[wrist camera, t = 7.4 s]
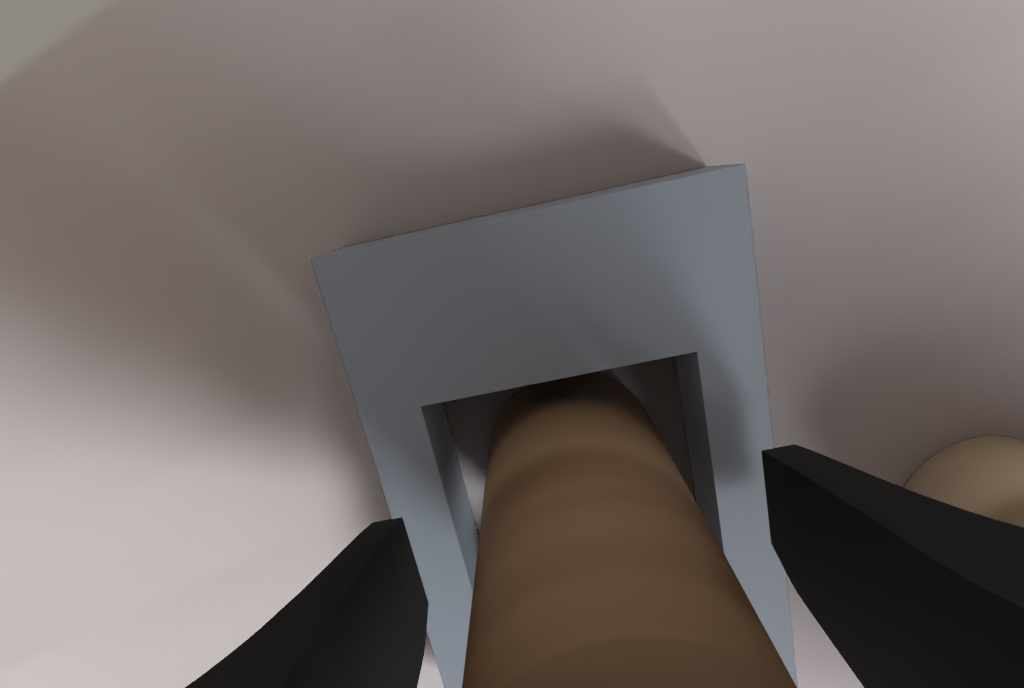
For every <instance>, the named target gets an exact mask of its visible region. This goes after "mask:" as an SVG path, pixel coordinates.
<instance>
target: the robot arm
mask: <svg viewBox="0 0 1024 688" xmlns="http://www.w3.org/2000/svg"><path fill="white" fill-rule="evenodd" d="M761 452H762V462H763V471H764V481H765V490H766V499H767V509H768V518H769V528H770V537H771V544H772V546H773V548H774V550H775V552H776V554H777V556H778V558H779V560H780V562H781V564H782V565H783V567H784V569H785V571H786V573H787V575H788V577H789V578H790V580H791V582H792V584H793V586H794V588H795V589H796V591H797V593H798V594H799V596H800V597H801V599H802V600H803V601H804V603H805V604H806V606H807V607H808V609H809V610H810V612H811V613H812V614H813V616H814V617H815V619H816V620H817V622H818V623H819V624H820V626H821V627H822V629H823V630H824V631H825V633H826V634H827V636H828V637H829V639H830V640H831V641H832V643H833V644H834V646H835V647H836V648H837V650H838V651H839V653H840V654H841V655H842V657H843V658H844V660H845V661H846V662H847V664H848V665H849V667H850V668H851V669H852V671H853V672H854V674H855V675H856V676H857V678H858V679H859V681H860V682H861V683H862V685H863V686H864V688H1024V528H1023V527H1020V526H1016V525H1013V524H1009V523H1006V522H1002V521H999V520H995V519H992V518H989V517H985V516H982V515H979V514H976V513H973V512H970V511H967V510H964V509H961V508H958V507H955V506H952V505H949V504H947V503H944V502H941V501H938V500H935V499H932V498H929V497H927V496H924V495H921V494H919V493H916V492H913V491H911V490H908V489H905V488H903V487H900V486H898V485H895V484H892V483H890V482H887V481H885V480H882V479H880V478H877V477H875V476H872V475H870V474H868V473H865V472H863V471H860V470H858V469H855V468H853V467H851V466H848V465H846V464H843V463H841V462H839V461H836V460H834V459H831V458H829V457H827V456H824V455H822V454H819V453H817V452H814V451H812V450H809V449H806V448H803V447H800V446H797V445H790V446H784V447H779V448H773V449H768V450H763V451H761ZM428 605H429V603H428V599H427V596H426V593H425V590H424V586H423V583H422V580H421V577H420V573H419V570H418V567H417V563H416V560H415V557H414V554H413V550H412V547H411V544H410V541H409V537H408V534H407V531H406V528H405V524H404V521H403V518H402V517H401V518H395V519H390V520H384V521H379V522H374V523H372V524H370V525H369V526H368V527H367V528H366V529H365V530H363V531H362V532H361V533H360V534H359V535H358V536H357V537H356V538H355V539H354V540H353V541H352V542H351V543H350V544H349V545H348V546H347V547H346V548H345V549H344V550H343V551H342V552H341V553H340V554H339V555H338V556H337V557H336V558H335V559H334V560H333V561H332V562H331V563H330V564H329V565H328V566H327V567H326V568H325V569H324V570H323V571H322V572H321V573H320V574H319V575H317V576H316V577H315V578H314V579H313V580H312V581H311V582H310V583H309V584H308V585H307V586H306V587H305V588H304V589H303V590H302V591H301V592H300V593H299V594H298V595H297V596H296V597H295V598H293V599H292V600H291V601H290V602H289V603H288V604H287V605H286V606H285V607H284V608H282V609H281V610H280V611H279V612H278V613H277V614H276V615H275V616H274V617H273V618H272V619H270V620H269V621H268V622H267V623H266V624H265V625H264V626H263V627H262V628H261V629H259V630H258V631H257V632H256V633H255V634H254V635H252V636H251V637H250V638H249V639H248V640H246V641H245V642H244V643H243V644H242V645H240V646H239V647H238V648H237V649H235V650H234V651H233V652H232V653H230V654H229V655H228V656H227V657H225V658H224V659H223V660H221V661H220V662H219V663H218V664H216V665H215V666H214V667H212V668H211V669H210V670H209V671H207V672H206V673H205V674H203V675H202V676H201V677H199V678H198V679H197V680H195V681H194V682H192V683H191V684H189V685H188V686H187V687H185V688H417V684H418V680H419V675H420V670H421V666H422V661H423V656H424V649H425V639H426V630H427V617H428Z"/></svg>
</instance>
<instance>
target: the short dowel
mask: <svg viewBox="0 0 1024 688" xmlns="http://www.w3.org/2000/svg"><path fill="white" fill-rule="evenodd" d="M904 488H905V489H908V490H911V491H913V492H916V493H919V494H921V495H924V496H927V497H929V498H932V499H935V500H938V501H941V502H944V503H947V504H949V505H952V506H955V507H958V508H961V509H964V510H967V511H970V512H973V513H976V514H979V515H982V516H985V517H989V518H992V519H995V520H999V521H1002V522H1006V523H1009V524H1013V525H1016V526H1020V527H1023V528H1024V441H1023V440H1020V439H1016V438H1012V437H1006V436H984V437H977V438H973V439H968V440H965V441H962V442H959V443H956V444H954V445H952V446H950V447H947V448H945V449H943V450H942V451H940V452H939V453H937V454H935V455H934V456H932V457H931V458H930V459H929V460H927V461H926V462H925V463H924V464H923V465H921V466H920V467H919V468H918V469H917V470H916V471H915V473H914V474H913V475H912V476H911V477H910V479H909V480H908V482H907V483H906V485H905V486H904Z"/></svg>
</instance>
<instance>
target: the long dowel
mask: <svg viewBox="0 0 1024 688" xmlns="http://www.w3.org/2000/svg"><path fill="white" fill-rule="evenodd" d="M462 688H797V687H796V685H795V683H794V681H793V679H792V677H791V676H790V674H789V672H788V670H787V668H786V666H785V665H784V663H783V661H782V659H781V657H780V655H779V654H778V652H777V650H776V648H775V646H774V644H773V643H772V641H771V639H770V637H769V635H768V633H767V632H766V630H765V628H764V626H763V624H762V622H761V621H760V619H759V617H758V615H757V613H756V611H755V610H754V608H753V606H752V604H751V602H750V600H749V599H748V597H747V595H746V593H745V591H744V589H743V588H742V586H741V584H740V582H739V580H738V578H737V577H736V575H735V573H734V571H733V569H732V567H731V566H730V564H729V562H728V560H727V558H726V556H725V555H724V553H723V551H722V549H721V547H720V545H719V544H718V542H717V540H716V538H715V536H714V534H713V533H712V531H711V529H710V527H709V525H708V523H707V522H706V520H705V518H704V516H703V514H702V512H701V511H700V509H699V507H698V505H697V503H696V501H695V500H694V498H693V496H692V494H691V492H690V490H689V488H688V487H687V485H686V483H685V481H684V479H683V477H682V476H681V474H680V472H679V470H678V468H677V466H676V465H675V463H674V461H673V459H672V457H671V455H670V454H669V452H668V450H667V448H666V446H665V444H664V443H663V441H662V439H661V437H660V435H659V433H658V432H657V430H656V428H655V426H654V424H653V422H652V421H651V419H650V417H649V415H648V413H647V411H646V410H645V408H644V407H643V405H642V404H641V402H640V401H639V400H638V399H637V398H636V397H635V396H634V395H633V394H632V393H631V392H630V391H629V390H627V389H626V388H625V387H624V386H622V385H620V384H619V383H617V382H615V381H613V380H611V379H609V378H606V377H604V376H600V375H597V374H593V373H587V374H582V375H577V376H572V377H567V378H562V379H557V380H552V381H547V382H542V383H537V384H532V385H527V386H525V387H523V388H522V389H521V390H519V391H518V392H517V393H516V394H515V395H514V396H512V397H511V398H510V400H509V401H508V402H507V403H506V404H505V405H504V407H503V408H502V410H501V412H500V413H499V415H498V417H497V419H496V421H495V423H494V426H493V430H492V433H491V439H490V447H489V456H488V464H487V473H486V482H485V491H484V499H483V508H482V517H481V526H480V534H479V543H478V552H477V561H476V569H475V578H474V587H473V596H472V604H471V613H470V622H469V631H468V639H467V648H466V657H465V666H464V674H463V683H462Z"/></svg>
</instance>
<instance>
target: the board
mask: <svg viewBox="0 0 1024 688" xmlns="http://www.w3.org/2000/svg"><path fill="white" fill-rule="evenodd" d="M311 262H312V265H313V268H314V272H315V275H316V278H317V281H318V284H319V288H320V291H321V294H322V297H323V300H324V304H325V307H326V310H327V313H328V316H329V320H330V323H331V326H332V329H333V332H334V336H335V339H336V342H337V345H338V348H339V352H340V355H341V358H342V361H343V364H344V368H345V371H346V374H347V377H348V380H349V384H350V387H351V390H352V393H353V396H354V400H355V403H356V406H357V409H358V412H359V416H360V419H361V422H362V425H363V428H364V432H365V435H366V438H367V441H368V444H369V448H370V451H371V454H372V457H373V460H374V464H375V467H376V470H377V473H378V476H379V480H380V483H381V486H382V489H383V492H384V496H385V499H386V502H387V505H388V508H389V512H390V515H391V518H392V519H395V518H401V517H402V518H403V521H404V524H405V528H406V531H407V534H408V537H409V541H410V544H411V547H412V550H413V554H414V557H415V560H416V563H417V567H418V570H419V573H420V577H421V580H422V583H423V586H424V590H425V593H426V596H427V599H428V603H429V605H428V617H427V633H428V636H429V640H430V643H431V646H432V649H433V652H434V656H435V659H436V662H437V665H438V668H439V672H440V675H441V678H442V681H443V685H444V688H462V683H463V674H464V666H465V657H466V648H467V639H468V631H469V622H470V613H471V604H472V596H473V587H474V578H475V569H476V561H477V552H478V543H479V536H478V533H477V529H476V525H475V521H474V518H473V514H472V510H471V507H470V503H469V499H468V495H467V492H466V488H465V484H464V480H463V477H462V473H461V469H460V465H459V462H458V458H457V454H456V450H455V447H454V443H453V439H452V435H451V432H450V428H449V424H448V421H447V417H446V413H445V409H444V406H443V402H446V401H451V400H456V399H461V398H466V397H471V396H476V395H481V394H486V393H491V392H496V391H501V390H506V389H512V388H517V387H522V386H527V385H532V384H537V383H542V382H547V381H552V380H557V379H562V378H567V377H572V376H577V375H582V374H587V373H592V372H597V371H602V370H607V369H612V368H617V367H622V366H627V365H632V364H637V363H642V362H647V361H652V360H657V359H662V358H667V357H672V356H675V359H676V366H677V373H678V380H679V387H680V393H681V400H682V407H683V414H684V421H685V428H686V435H687V442H688V449H689V456H690V463H691V469H692V476H693V483H694V490H695V497H696V503H697V505H698V507H699V509H700V511H701V512H702V514H703V516H704V518H705V520H706V522H707V523H708V525H709V527H710V529H711V531H712V533H713V534H714V536H715V538H716V540H717V542H718V544H719V545H720V547H721V549H722V551H723V553H724V555H725V556H726V558H727V560H728V562H729V564H730V566H731V567H732V569H733V571H734V573H735V575H736V577H737V578H738V580H739V582H740V584H741V586H742V588H743V589H744V591H745V593H746V595H747V597H748V599H749V600H750V602H751V604H752V606H753V608H754V610H755V611H756V613H757V615H758V617H759V619H760V621H761V622H762V624H763V626H764V628H765V630H766V632H767V633H768V635H769V637H770V639H771V641H772V643H773V644H774V646H775V648H776V650H777V652H778V654H779V655H780V657H781V659H782V661H783V663H784V665H785V666H786V668H787V670H788V672H789V674H790V676H791V677H792V679H793V681H794V683H795V685H796V687H797V688H798V686H797V676H796V666H795V656H794V646H793V636H792V626H791V616H790V606H789V596H788V586H787V576H786V571H785V569H784V567H783V565H782V564H781V562H780V560H779V558H778V556H777V554H776V552H775V550H774V548H773V546H772V544H771V537H770V528H769V518H768V509H767V499H766V490H765V481H764V471H763V462H762V452H761V451H763V450H768V449H773V448H774V446H773V436H772V426H771V416H770V406H769V396H768V386H767V376H766V366H765V356H764V346H763V336H762V326H761V316H760V306H759V296H758V286H757V276H756V266H755V256H754V246H753V236H752V226H751V216H750V206H749V196H748V186H747V176H746V166H745V164H736V165H721V166H708V167H704V168H699V169H695V170H690V171H686V172H681V173H677V174H672V175H668V176H663V177H659V178H654V179H650V180H645V181H641V182H636V183H632V184H627V185H623V186H618V187H614V188H609V189H605V190H600V191H596V192H591V193H586V194H582V195H577V196H573V197H568V198H564V199H559V200H555V201H550V202H546V203H541V204H537V205H532V206H528V207H523V208H519V209H514V210H510V211H505V212H501V213H496V214H492V215H487V216H483V217H478V218H474V219H469V220H465V221H460V222H456V223H451V224H447V225H442V226H438V227H433V228H428V229H424V230H419V231H415V232H410V233H406V234H401V235H397V236H392V237H388V238H383V239H379V240H374V241H370V242H365V243H361V244H356V245H352V246H347V247H343V248H340V249H338V250H335V251H332V252H330V253H327V254H325V255H322V256H319V257H317V258H314V259H312V260H311Z"/></svg>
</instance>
